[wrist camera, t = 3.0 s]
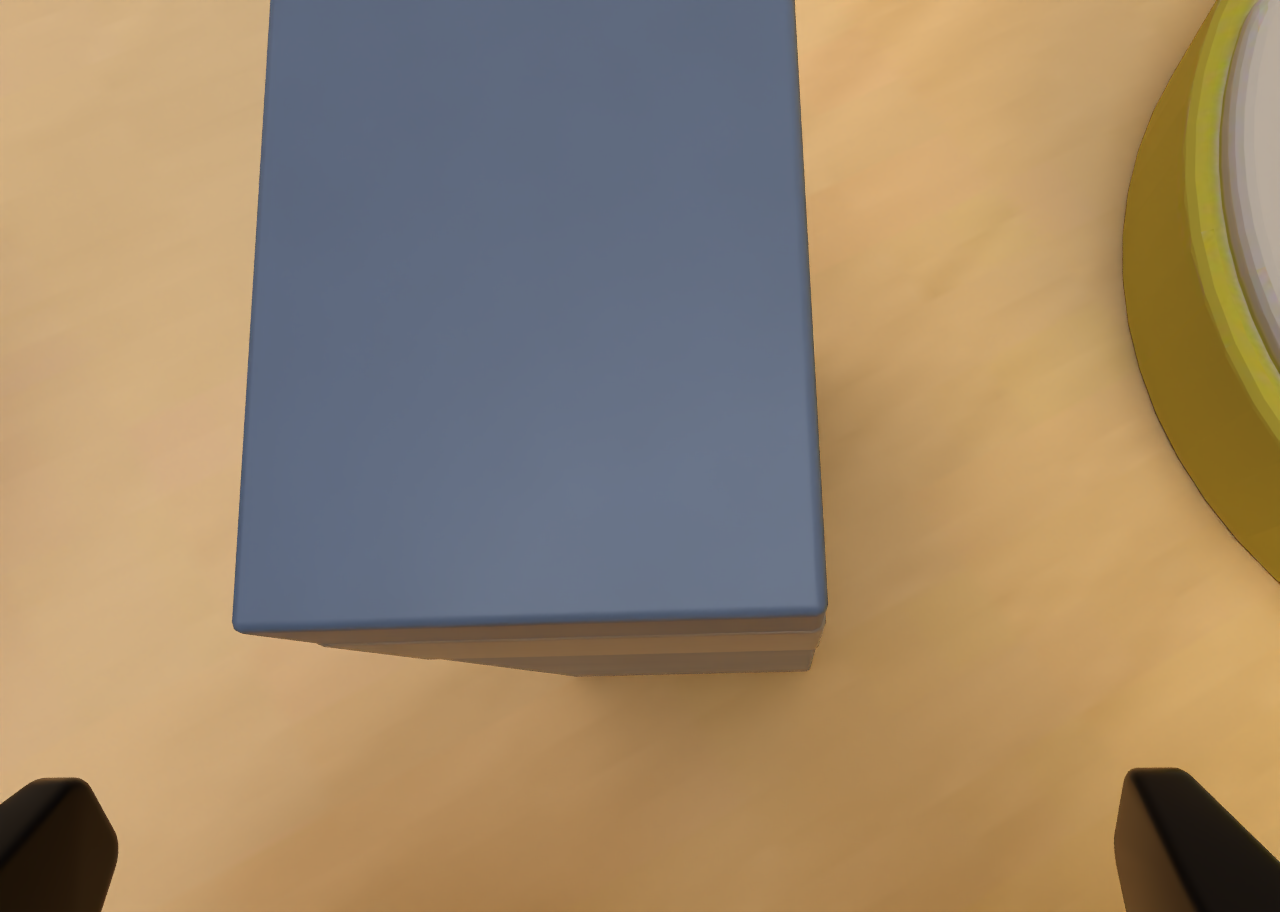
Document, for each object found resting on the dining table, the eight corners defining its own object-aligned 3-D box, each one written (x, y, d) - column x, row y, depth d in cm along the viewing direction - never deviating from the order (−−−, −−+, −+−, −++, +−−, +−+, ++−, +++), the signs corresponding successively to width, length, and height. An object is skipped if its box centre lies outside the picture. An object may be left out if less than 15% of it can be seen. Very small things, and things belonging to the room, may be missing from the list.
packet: (811, 672, 20) (832, 618, 8) (571, 677, 21) (223, 635, 8) (795, 354, 22) (788, -136, 9) (569, 367, 22) (268, -76, 10)
